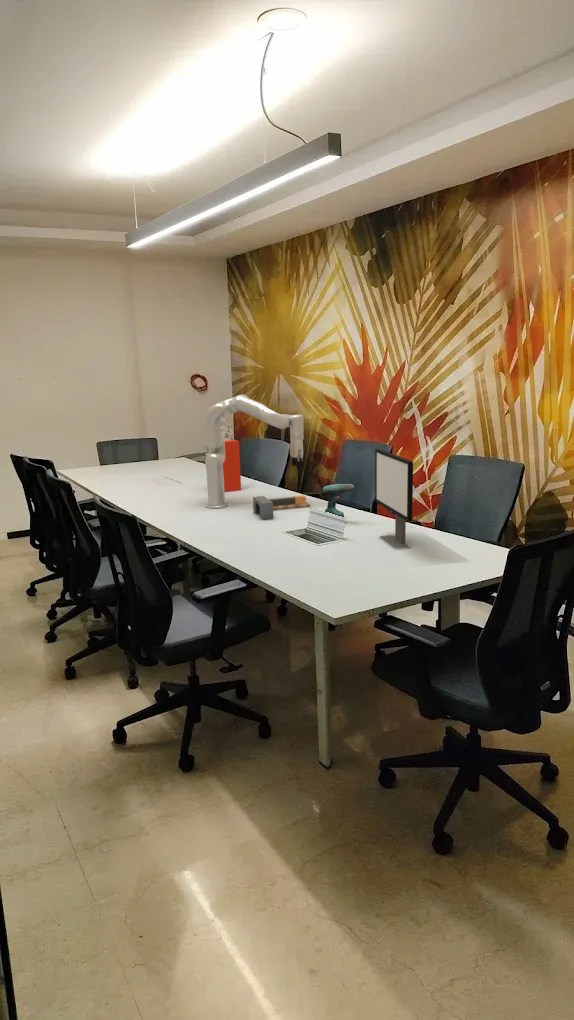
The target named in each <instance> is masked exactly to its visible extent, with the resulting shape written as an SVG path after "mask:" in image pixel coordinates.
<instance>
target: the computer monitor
mask: <svg viewBox="0 0 574 1020" xmlns="http://www.w3.org/2000/svg"><path fill="white" fill-rule="evenodd" d="M374 453H375V455H374V460H375V461H374V470H375V471H374V477H375V479H374V482H375V483H374V492H375V493H374V501H375V503H376V504H378V505H380V506H381V507H383V508H384V509H386V511H387V512H388V514H390V515H395V519H394V521H395V522H394V523H395V524H394V525H395V529H394V530H395V533H394V534H387V535H386V534H385V535H379V536H378V539H379V540H380V541H382V542H383V543H384V544H386V545H387V546H388V547H390V548H391V549H393V550H397V551H398V550H407V549H411V548H412V546H411V545H410V544H408V543H407V542H406V529H407V527H406V522H413V507H414V506H413V500H414V499H413V497H414V496H413V494H414V493H413V492H414V489H413V488H414V487H413V486H414V461H413V460H409V459H407V458H404V457H402V456H399V455H397V454H394V453H391V452H389V451H386V450H383V449H381V448H375V449H374Z"/></svg>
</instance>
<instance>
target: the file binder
mask: <svg viewBox="0 0 574 1020" xmlns="http://www.w3.org/2000/svg"><path fill="white" fill-rule="evenodd" d="M240 456H241V455H240V441H239V440H237V439H232V440H230V439H229V440H225V461H224V463H223V475H224V493H226V492H227V493H228V492H237V491H241V490H242V481H241V480H242V479H241V476H242V475H241V458H240Z"/></svg>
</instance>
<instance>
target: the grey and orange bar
mask: <svg viewBox="0 0 574 1020" xmlns="http://www.w3.org/2000/svg"><path fill="white" fill-rule="evenodd" d="M268 499H269V500H270V501H272V502H273V506H281V505H291V504H304V503H307V501H308V498H307V497H306V496H305V495H304V494H300V495H293V496H289V497H287V496H286V497H278V498H268Z"/></svg>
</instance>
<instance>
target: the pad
mask: <svg viewBox="0 0 574 1020" xmlns="http://www.w3.org/2000/svg"><path fill="white" fill-rule="evenodd" d="M301 508H302V509H303V508H311V504H309V503H308V502H306V503H304V504H291V505H281V506H273V512H275V511H284V510H293V509H301Z"/></svg>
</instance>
